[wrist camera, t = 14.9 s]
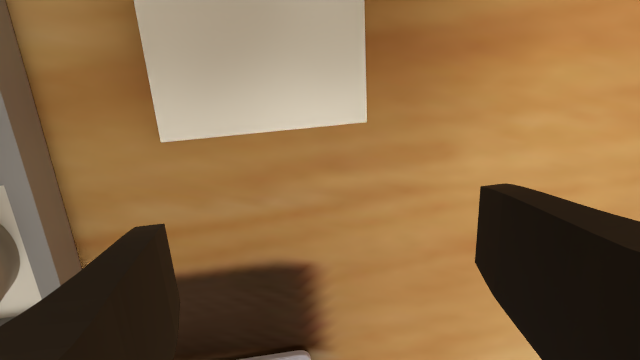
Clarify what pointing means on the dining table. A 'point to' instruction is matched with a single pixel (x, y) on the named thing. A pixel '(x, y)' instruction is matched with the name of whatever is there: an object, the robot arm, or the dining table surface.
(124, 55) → the dining table surface
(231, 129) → the plate
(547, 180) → the dining table surface
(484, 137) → the dining table surface
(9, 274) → the cylinder
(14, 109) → the shallow grey tray
